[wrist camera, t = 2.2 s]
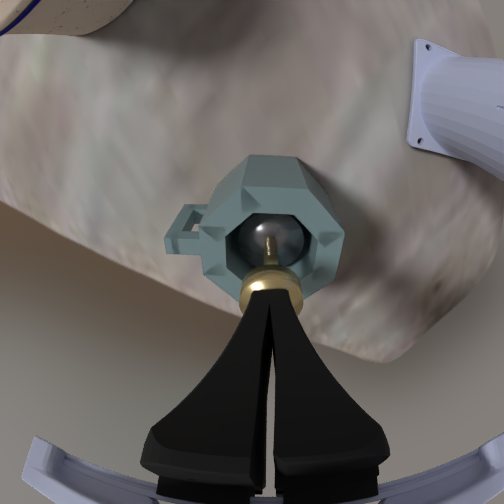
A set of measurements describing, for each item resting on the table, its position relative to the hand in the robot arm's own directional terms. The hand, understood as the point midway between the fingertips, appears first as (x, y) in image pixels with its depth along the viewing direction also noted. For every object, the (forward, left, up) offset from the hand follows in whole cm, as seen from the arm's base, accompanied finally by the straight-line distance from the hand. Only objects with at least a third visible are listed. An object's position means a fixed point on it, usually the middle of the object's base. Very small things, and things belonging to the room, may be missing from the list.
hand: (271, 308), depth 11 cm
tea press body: (+1, 0, -10) cm, 10 cm away
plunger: (0, 0, -6) cm, 6 cm away
